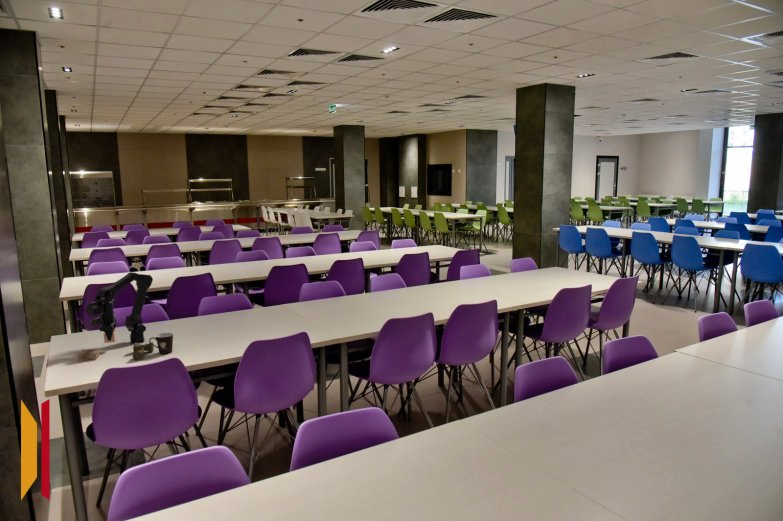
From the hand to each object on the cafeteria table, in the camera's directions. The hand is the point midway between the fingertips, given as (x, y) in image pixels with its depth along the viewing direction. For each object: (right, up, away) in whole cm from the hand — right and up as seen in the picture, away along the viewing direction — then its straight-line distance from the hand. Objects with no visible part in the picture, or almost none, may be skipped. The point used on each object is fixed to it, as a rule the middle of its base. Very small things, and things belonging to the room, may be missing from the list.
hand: (110, 339), depth 286 cm
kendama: (+20, -8, -6) cm, 23 cm away
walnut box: (-5, -9, -11) cm, 15 cm away
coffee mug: (+30, -7, -3) cm, 31 cm away
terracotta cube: (0, -1, 0) cm, 1 cm away
